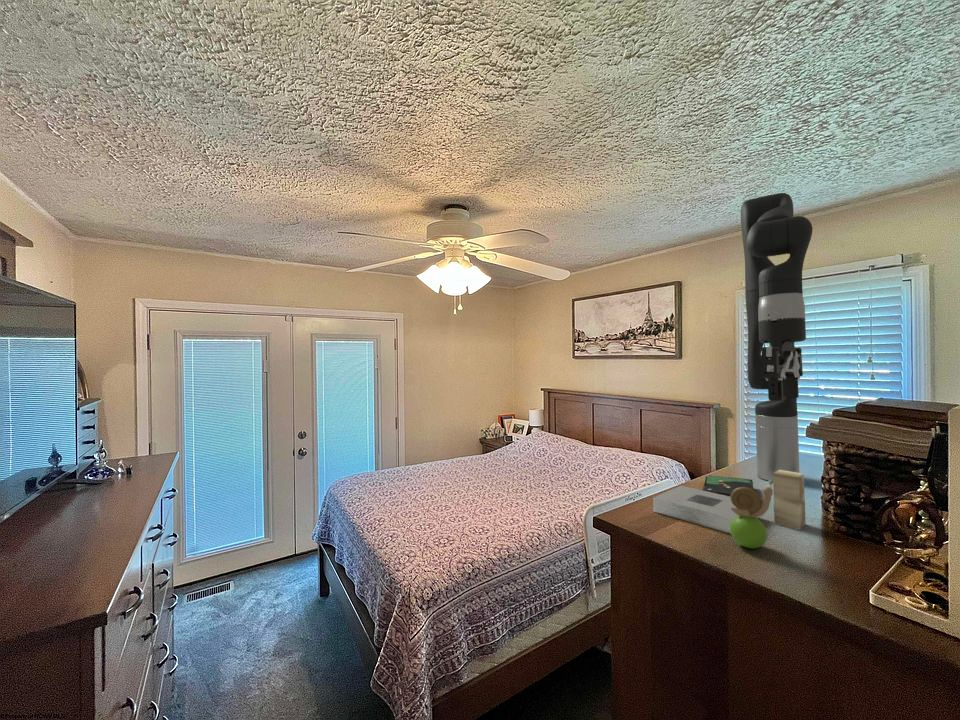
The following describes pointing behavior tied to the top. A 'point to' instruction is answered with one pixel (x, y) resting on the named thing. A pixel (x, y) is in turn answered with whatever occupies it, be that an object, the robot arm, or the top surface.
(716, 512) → the white flat block
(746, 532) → the snail figurine
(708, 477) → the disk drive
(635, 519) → the top surface
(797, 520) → the birch peg
